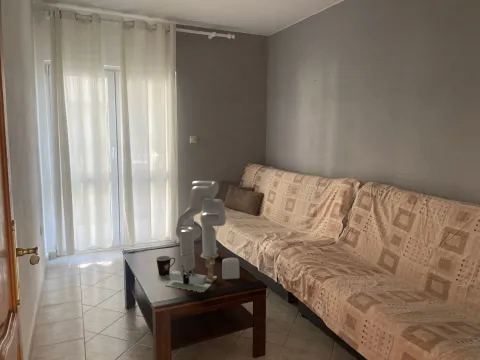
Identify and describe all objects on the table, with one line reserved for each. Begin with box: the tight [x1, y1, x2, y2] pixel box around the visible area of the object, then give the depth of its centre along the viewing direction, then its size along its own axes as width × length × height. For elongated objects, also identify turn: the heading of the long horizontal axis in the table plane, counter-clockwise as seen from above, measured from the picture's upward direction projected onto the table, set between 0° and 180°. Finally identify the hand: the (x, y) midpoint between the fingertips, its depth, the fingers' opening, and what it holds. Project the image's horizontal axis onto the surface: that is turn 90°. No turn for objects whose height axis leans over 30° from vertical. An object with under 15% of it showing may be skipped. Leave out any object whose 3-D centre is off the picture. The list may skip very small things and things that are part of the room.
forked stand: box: [204, 256, 218, 284], centre depth 212 cm, size 7×21×13 cm, turn 67°
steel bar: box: [169, 269, 208, 285], centre depth 202 cm, size 4×22×4 cm, turn 67°
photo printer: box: [221, 257, 241, 280], centre depth 212 cm, size 10×4×12 cm, turn 96°
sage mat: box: [164, 280, 212, 293], centre depth 202 cm, size 10×24×1 cm, turn 67°
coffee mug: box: [155, 255, 176, 277], centre depth 220 cm, size 12×9×10 cm
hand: (188, 282), depth 202 cm, fingers closed on steel bar, 4 cm apart
